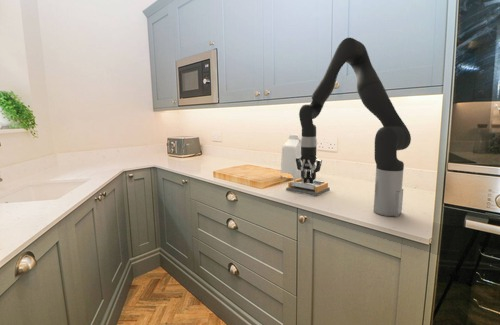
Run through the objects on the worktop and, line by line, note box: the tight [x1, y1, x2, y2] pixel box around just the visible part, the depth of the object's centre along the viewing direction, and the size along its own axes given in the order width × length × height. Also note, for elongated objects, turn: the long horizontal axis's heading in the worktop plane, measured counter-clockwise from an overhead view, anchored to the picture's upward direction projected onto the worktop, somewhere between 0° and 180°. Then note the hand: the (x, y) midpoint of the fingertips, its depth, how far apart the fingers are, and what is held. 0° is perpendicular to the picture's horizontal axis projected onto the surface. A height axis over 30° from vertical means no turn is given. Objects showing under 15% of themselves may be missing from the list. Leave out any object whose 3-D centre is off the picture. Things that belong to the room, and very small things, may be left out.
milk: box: [280, 134, 307, 181], centre depth 167 cm, size 12×12×26 cm
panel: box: [285, 178, 331, 197], centre depth 139 cm, size 17×14×4 cm
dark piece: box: [300, 164, 313, 184], centre depth 138 cm, size 7×5×10 cm
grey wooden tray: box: [291, 178, 326, 190], centre depth 139 cm, size 13×10×2 cm
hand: (308, 178), depth 138 cm, fingers closed on dark piece, 5 cm apart
